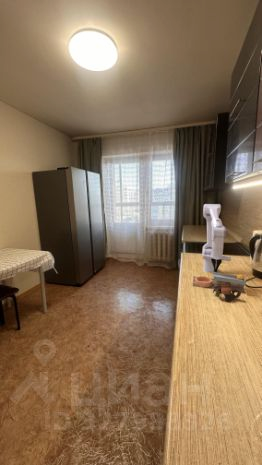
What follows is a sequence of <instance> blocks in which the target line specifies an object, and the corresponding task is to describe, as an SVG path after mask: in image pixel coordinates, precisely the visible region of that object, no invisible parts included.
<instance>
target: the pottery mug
mask: <svg viewBox="0 0 262 465" xmlns="http://www.w3.org/2000/svg"><path fill="white" fill-rule="evenodd" d="M212 290H213V291H212V293H215V292H216V293H221V294H223V295H224V297H221V298H220V301H221V302H223V303H232V302H234V300H236V299H238V298H240V297H241V295H242V293H240V290H238V289H231V288H230V285H221V286H214V289H212ZM231 291H232V292H231ZM235 293H236V295H235Z"/></svg>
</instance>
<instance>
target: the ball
mask: <svg viewBox="0 0 262 465" xmlns="http://www.w3.org/2000/svg"><path fill="white" fill-rule="evenodd" d="M236 276H237V279H238V280H243V276H244V275H243V274H237V275H236Z"/></svg>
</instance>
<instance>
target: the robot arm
mask: <svg viewBox="0 0 262 465" xmlns="http://www.w3.org/2000/svg"><path fill="white" fill-rule="evenodd" d="M221 210H222V205H221V204H220V203H218V204H217V203H215V204H213V203H212V204H211V203H205V204H203V210H202V211H203V212H202V214H203V218H205V220H206V243H205V244H204V245H203V246H202V252H201V254H202V260H203V259H204V260H203V261H204V262H203V267H202V271H203V272H208V273H213V269H214V272H217V270H218V271H219V267H220V266H221V264H222V262H223V261H228V262H231V261H232V257H231V256H227V255H226V256H225V255H223V252H224V240H225V238H226V236H227V229H226V227H225V226H224V225H223V222H222V219H221V218H219V216H220V213H221Z"/></svg>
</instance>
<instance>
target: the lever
mask: <svg viewBox="0 0 262 465" xmlns="http://www.w3.org/2000/svg"><path fill="white" fill-rule="evenodd" d="M242 276H243V280H238V279H237V275H235V274H227V273H221V272H219V269H218V270H217V272H214V269H213V272H212V279H213V280H218V281H224V282H230V283H236V284H238V286H239V287H244V288H245V286H246V283H247V279H246V277H245V276H244V275H242Z"/></svg>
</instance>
